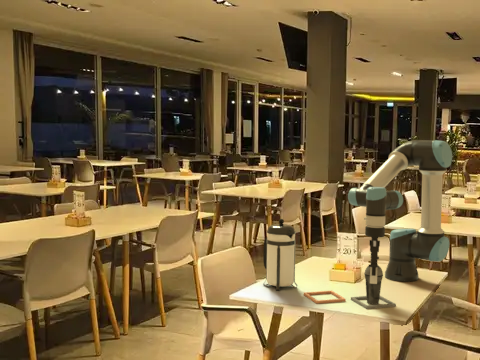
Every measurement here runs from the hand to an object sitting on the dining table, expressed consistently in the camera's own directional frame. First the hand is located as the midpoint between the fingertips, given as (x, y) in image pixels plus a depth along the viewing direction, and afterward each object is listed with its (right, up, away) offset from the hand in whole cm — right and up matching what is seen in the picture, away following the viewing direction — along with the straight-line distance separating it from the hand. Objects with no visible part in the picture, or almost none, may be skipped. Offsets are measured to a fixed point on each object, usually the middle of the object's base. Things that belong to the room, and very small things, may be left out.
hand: (373, 279), depth 223 cm
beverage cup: (0, -10, +1) cm, 10 cm away
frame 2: (0, -10, +1) cm, 10 cm away
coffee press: (-36, -8, +24) cm, 44 cm away
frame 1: (-18, -9, +7) cm, 22 cm away
